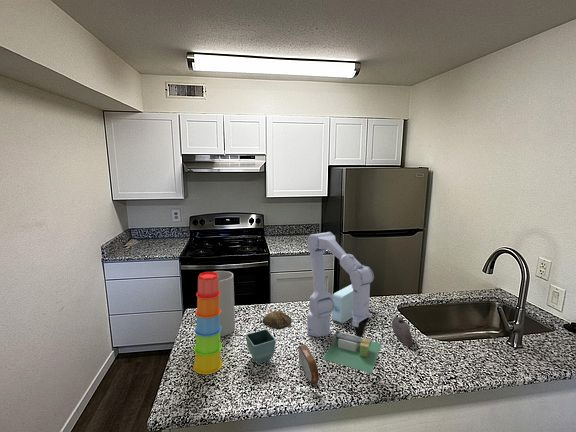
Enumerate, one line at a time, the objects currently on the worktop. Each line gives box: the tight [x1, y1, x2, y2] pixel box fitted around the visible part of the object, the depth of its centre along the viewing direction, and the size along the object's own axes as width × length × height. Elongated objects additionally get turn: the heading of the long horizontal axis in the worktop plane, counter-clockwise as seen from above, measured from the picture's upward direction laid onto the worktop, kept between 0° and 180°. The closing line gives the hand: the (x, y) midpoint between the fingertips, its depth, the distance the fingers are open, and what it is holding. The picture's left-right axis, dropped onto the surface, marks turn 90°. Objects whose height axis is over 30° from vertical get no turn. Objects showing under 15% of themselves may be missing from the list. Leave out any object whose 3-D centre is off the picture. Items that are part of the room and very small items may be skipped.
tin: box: [297, 344, 320, 385], centre depth 106 cm, size 15×3×8 cm, turn 15°
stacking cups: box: [192, 271, 224, 375], centre depth 109 cm, size 10×10×35 cm
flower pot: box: [245, 328, 277, 365], centre depth 115 cm, size 9×9×9 cm
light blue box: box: [331, 283, 353, 324], centre depth 149 cm, size 23×6×13 cm, turn 137°
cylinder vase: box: [214, 270, 236, 337], centre depth 134 cm, size 12×12×25 cm
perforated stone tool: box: [391, 316, 413, 348], centre depth 127 cm, size 15×5×7 cm, turn 179°
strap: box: [333, 331, 373, 345], centre depth 121 cm, size 15×4×1 cm, turn 63°
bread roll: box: [262, 310, 292, 329], centre depth 143 cm, size 13×12×5 cm
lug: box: [360, 337, 372, 358], centre depth 117 cm, size 3×6×4 cm, turn 153°
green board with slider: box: [322, 329, 383, 374], centre depth 118 cm, size 18×20×4 cm
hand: (359, 335), depth 112 cm, fingers closed
